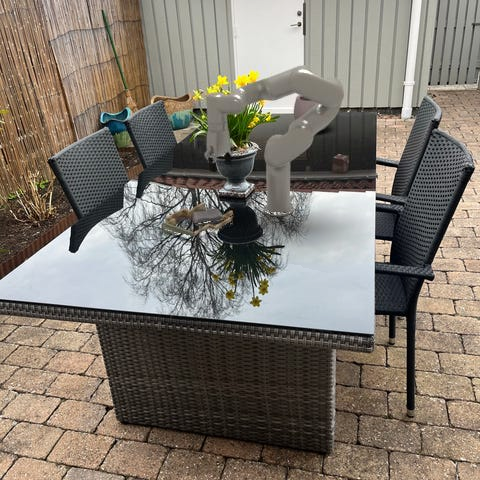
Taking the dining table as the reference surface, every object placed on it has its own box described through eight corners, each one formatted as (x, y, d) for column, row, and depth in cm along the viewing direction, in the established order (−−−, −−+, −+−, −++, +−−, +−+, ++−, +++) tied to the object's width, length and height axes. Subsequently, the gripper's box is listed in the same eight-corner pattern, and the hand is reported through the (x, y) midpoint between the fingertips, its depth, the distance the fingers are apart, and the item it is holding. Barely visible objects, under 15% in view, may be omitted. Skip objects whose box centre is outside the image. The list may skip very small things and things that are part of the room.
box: (342, 173, 232) (343, 159, 228) (331, 171, 235) (332, 157, 232) (348, 170, 236) (349, 155, 233) (337, 167, 239) (338, 153, 236)
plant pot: (338, 127, 301) (340, 78, 286) (322, 138, 283) (324, 86, 269) (303, 123, 312) (304, 76, 298) (286, 133, 295) (286, 83, 280)
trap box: (197, 207, 206) (196, 199, 204) (240, 219, 193) (239, 211, 192) (157, 229, 189) (156, 221, 188) (200, 244, 177) (200, 235, 175)
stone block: (191, 222, 198) (195, 227, 189) (190, 210, 197) (194, 216, 187) (218, 218, 201) (224, 223, 192) (217, 207, 199) (223, 212, 190)
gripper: (224, 119, 193) (226, 160, 201) (195, 130, 181) (199, 172, 189) (238, 121, 189) (240, 163, 197) (211, 133, 177) (214, 176, 185)
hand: (220, 167), depth 193 cm, fingers open, 9 cm apart
